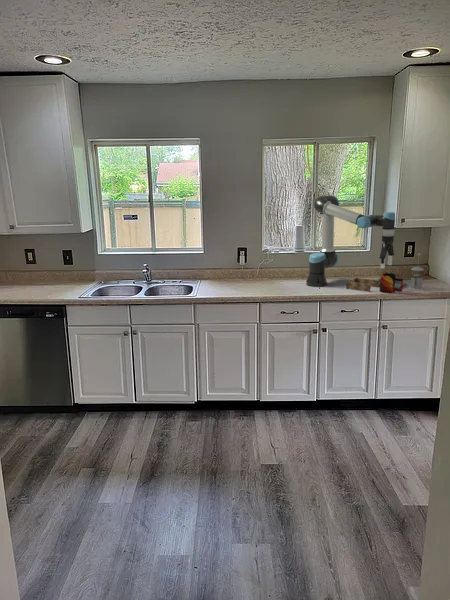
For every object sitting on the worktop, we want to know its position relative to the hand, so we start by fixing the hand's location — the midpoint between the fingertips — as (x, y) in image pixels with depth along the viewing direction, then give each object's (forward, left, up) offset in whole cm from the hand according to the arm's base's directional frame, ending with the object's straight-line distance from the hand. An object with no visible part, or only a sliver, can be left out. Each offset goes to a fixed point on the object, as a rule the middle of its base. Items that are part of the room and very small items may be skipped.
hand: (386, 266), depth 294 cm
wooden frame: (-15, 0, -17) cm, 23 cm away
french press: (+16, +18, -18) cm, 30 cm away
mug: (+4, 0, -18) cm, 18 cm away
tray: (-3, +18, -17) cm, 25 cm away
